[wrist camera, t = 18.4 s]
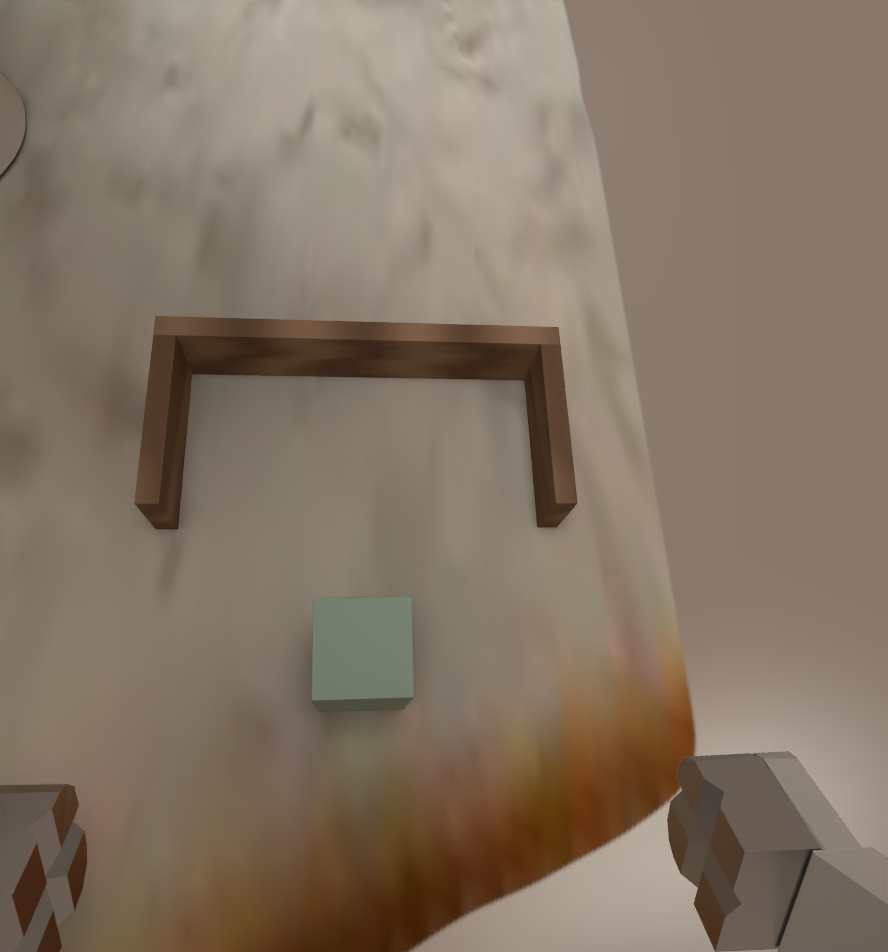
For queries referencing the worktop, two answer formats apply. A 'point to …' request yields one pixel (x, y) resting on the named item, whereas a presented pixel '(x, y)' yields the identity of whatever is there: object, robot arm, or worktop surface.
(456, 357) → the wooden u-shaped stand
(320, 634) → the sage green block
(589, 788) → the worktop surface
